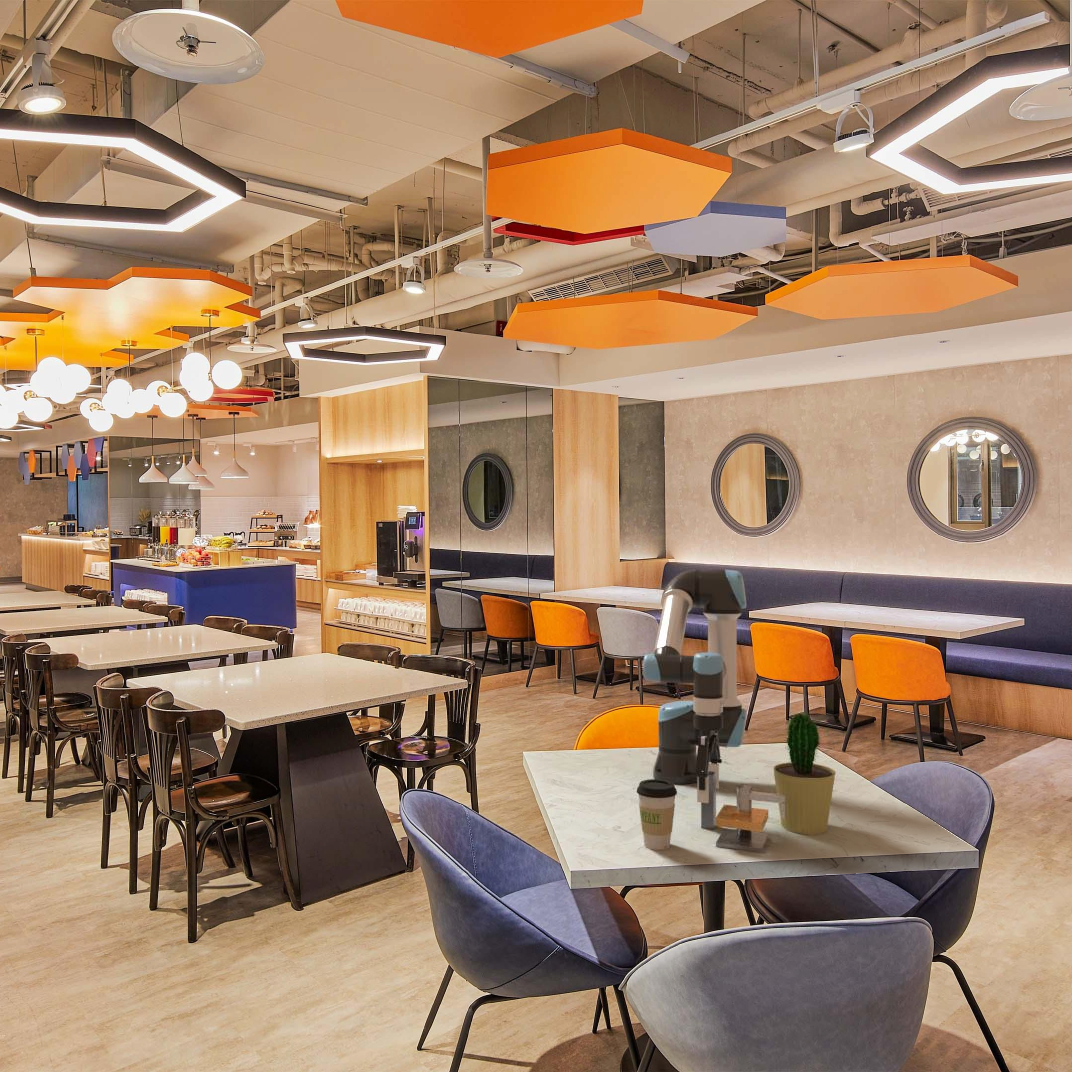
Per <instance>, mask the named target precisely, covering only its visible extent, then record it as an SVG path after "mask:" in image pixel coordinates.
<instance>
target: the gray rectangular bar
mask: <svg viewBox="0 0 1072 1072" xmlns="http://www.w3.org/2000/svg"><path fill="white" fill-rule="evenodd" d="M707 777H709V803H701V802H700V812H701V813H700V817H701V818H700V821H701V822H700V827H701V829H708V830H715V828H716V827H717V826H716V817H717V789H716V772H712V771H708V776H707Z"/></svg>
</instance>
